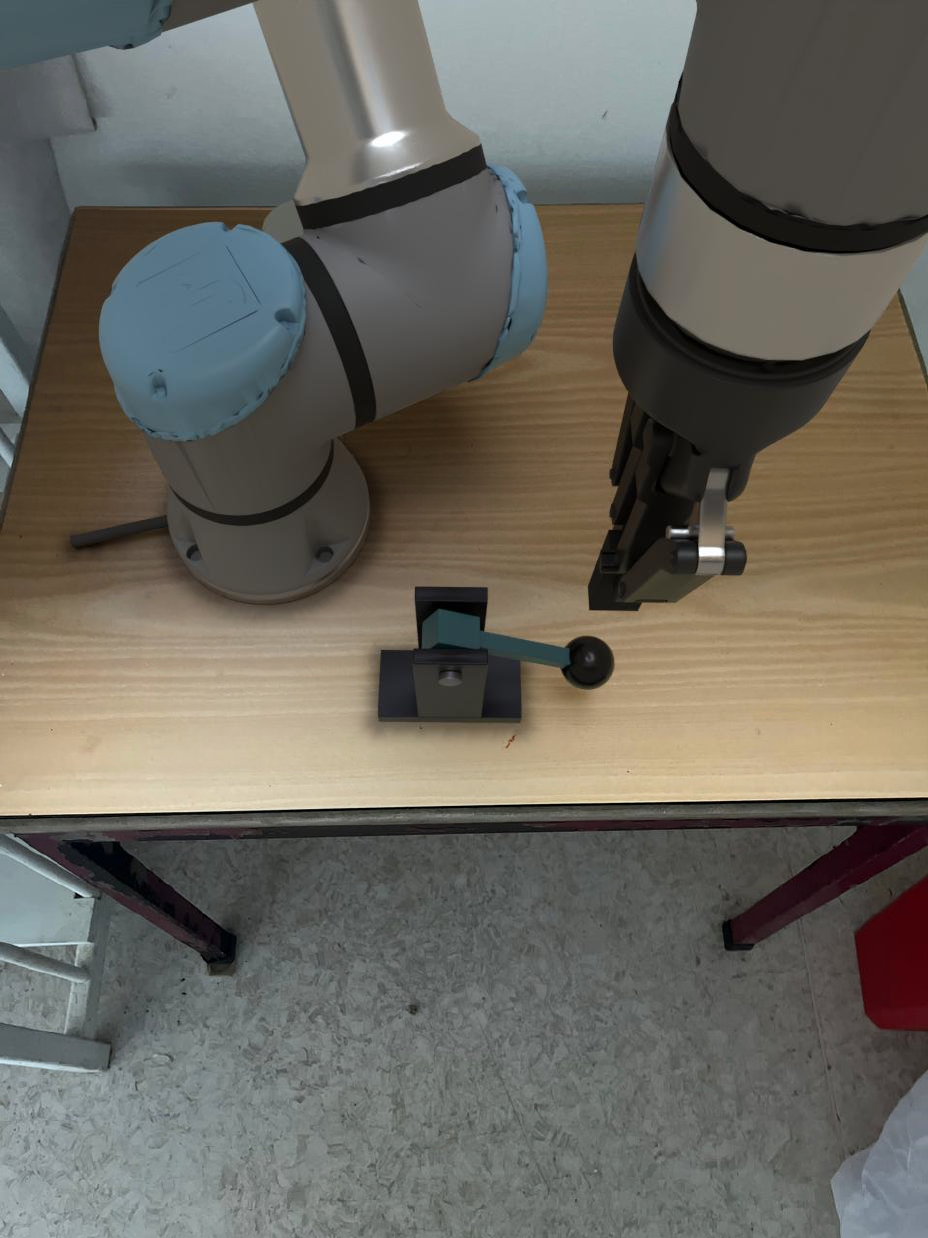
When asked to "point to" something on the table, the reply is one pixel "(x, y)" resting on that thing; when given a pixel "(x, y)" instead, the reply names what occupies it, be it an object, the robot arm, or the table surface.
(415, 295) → the robot arm
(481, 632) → the switch lever
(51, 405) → the table surface
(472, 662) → the switch bracket
